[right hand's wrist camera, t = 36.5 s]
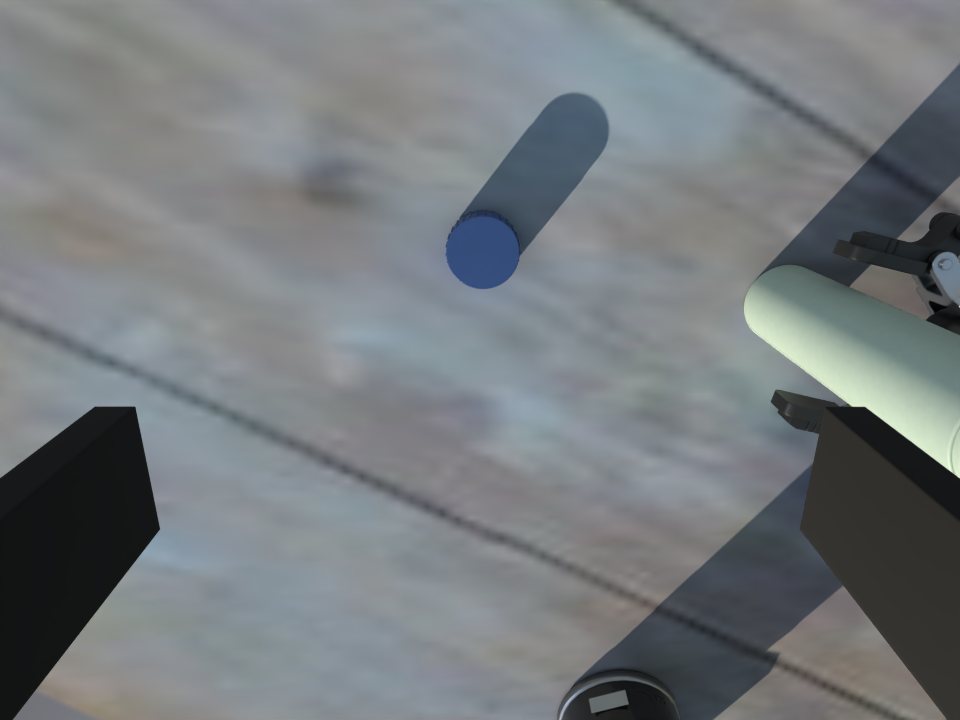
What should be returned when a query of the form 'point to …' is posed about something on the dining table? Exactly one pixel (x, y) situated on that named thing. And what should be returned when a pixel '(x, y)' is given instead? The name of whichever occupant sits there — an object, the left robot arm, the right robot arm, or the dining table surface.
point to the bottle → (865, 354)
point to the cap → (482, 250)
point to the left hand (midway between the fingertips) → (809, 327)
